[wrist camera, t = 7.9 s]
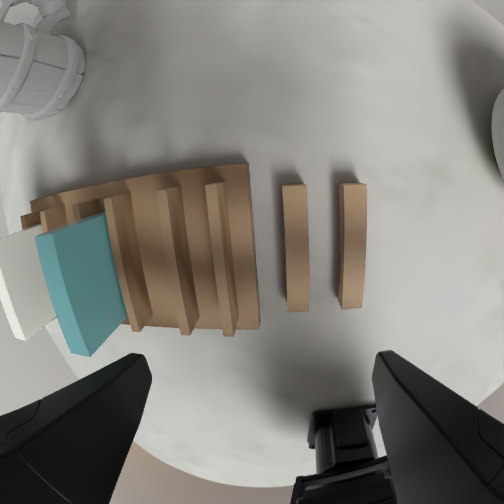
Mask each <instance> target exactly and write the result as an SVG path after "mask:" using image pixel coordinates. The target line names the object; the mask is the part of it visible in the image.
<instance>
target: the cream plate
mask: <svg viewBox="0 0 504 504" xmlns="http://www.w3.org/2000/svg"><path fill="white" fill-rule="evenodd" d="M42 233H43V229H42V223H40V224H37V225H34V226H32V227H29V228H26V229H23V230H20V231H18V232H15V233H13V234H10V235H8V236H5V237H2V238H0V299H1V302H2V305H3V308H4V310H5V313H6V316H7V318H8V321H9V323H10V326H11V328H12V331H13V333H14V335H15V338H18V339H22V340H25V341H27V340H28V339H29V338H31V337H32V336H33V335H34V334H35V333H37V332H38V331H39V330H40V329H42V328H43V327H44V326H45V325H47V324H48V323H49V322H50V321H52V320H53V319H54V318H55V317H57V316H56V313H55V310H54V307H53V304H52V301H51V298H50V295H49V292H48V288H47V285H46V281H45V278H44V274H43V271H42V267H41V263H40V259H39V255H38V250H37V246H36V241H35V236H37V235H40V234H42Z"/></svg>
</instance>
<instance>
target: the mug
mask: <svg viewBox="0 0 504 504" xmlns="http://www.w3.org/2000/svg"><path fill="white" fill-rule="evenodd" d="M22 2H28V3H29V4H33V5H35V6H36V7H39V9H38V11H39V12H40V13H41V15H42V17H44V18H43V20H42V21H41V22H40V23H39V25H38V26H37V27H36V29H34V28H33V27H32V26H30V25H27V24H24V23H21V24H17V25H13V24H10V23H5V22H3V21H4V19H5V16H6V14H7V11H8V9H9V7H11V6H14V5H17V4H19V3H22ZM65 4H66V1H65V0H0V112H10V113H20V114H22V116H24V117H26V118H28V119H31V120H37V119H41V118H44V117H48V116H53V115H55V114H57V113H58V112H60V111H61V110H63V109H64V108H65V106H66V105H67V104H68V102H69V101H70V99H71V98H72V97H73V96H74V95H75V93H76V92H77V90H78V88H79V86H80V84H81V81H82V79H83V75H81V74H82V73H83V72H84V71H85V63H86V61H85V56H84V53H83V50H82V48H81V47H80V46H79V45H77V43H76V42H75V40H73V39H72V38H70V37H68V36H65V35H55V36H52V35H51V33H52V31H53V29H54V27H55V26H56V25H57V24H58V23H59V22H60V21H61V20H63V19H66V18H67V17H69V16H70V14H71V12H70V11H69V9H68V8H67V6H66V5H65Z"/></svg>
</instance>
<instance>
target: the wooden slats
mask: <svg viewBox="0 0 504 504" xmlns="http://www.w3.org/2000/svg"><path fill="white" fill-rule="evenodd" d="M282 192H283V209H284V228H285V249H286V275H287V308H288V312H297V311H309V236H308V206H307V185H305V184H290V185H282ZM339 205H340V258H339V288H338V301H339V303H340V306H341V309H351V308H362V300H363V288H364V275H365V258H366V231H367V188H366V184H362V183H339Z"/></svg>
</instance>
